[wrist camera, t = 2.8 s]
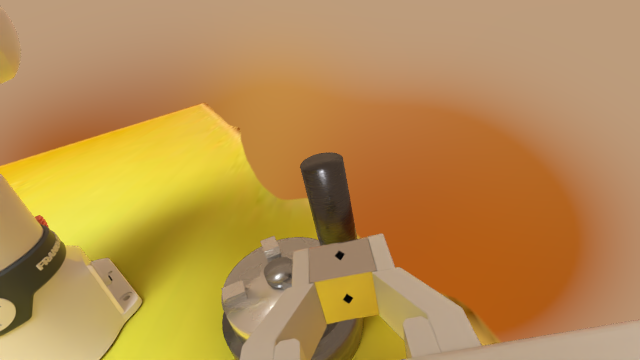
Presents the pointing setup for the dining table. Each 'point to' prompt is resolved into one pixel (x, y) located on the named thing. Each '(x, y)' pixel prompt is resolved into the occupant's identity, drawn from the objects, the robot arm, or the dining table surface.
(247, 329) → the disc with upright handle
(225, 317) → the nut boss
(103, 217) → the dining table surface
